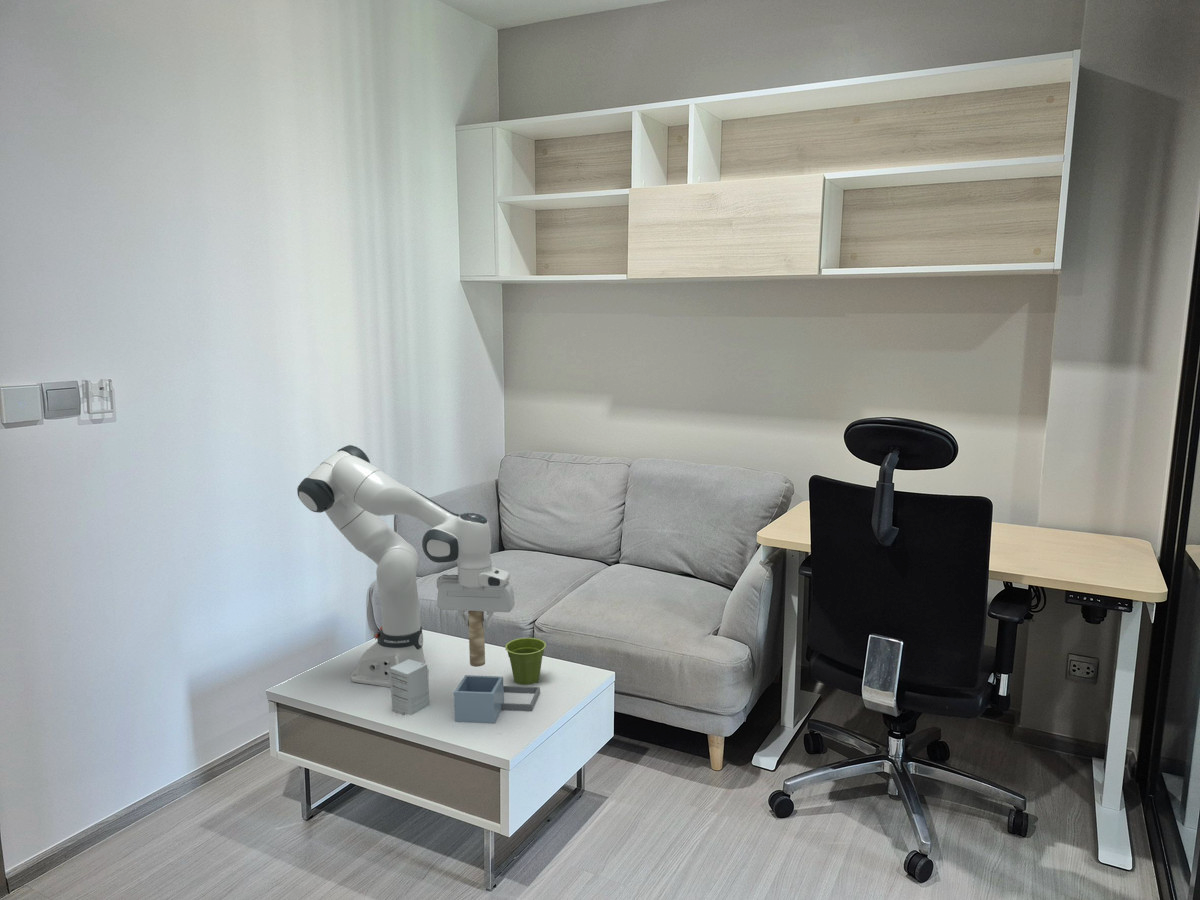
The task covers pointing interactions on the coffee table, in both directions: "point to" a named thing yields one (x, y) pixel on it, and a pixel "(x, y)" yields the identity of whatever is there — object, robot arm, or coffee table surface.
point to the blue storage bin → (479, 699)
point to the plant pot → (526, 659)
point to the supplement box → (409, 687)
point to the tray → (521, 690)
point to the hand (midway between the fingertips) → (476, 626)
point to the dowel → (476, 638)
